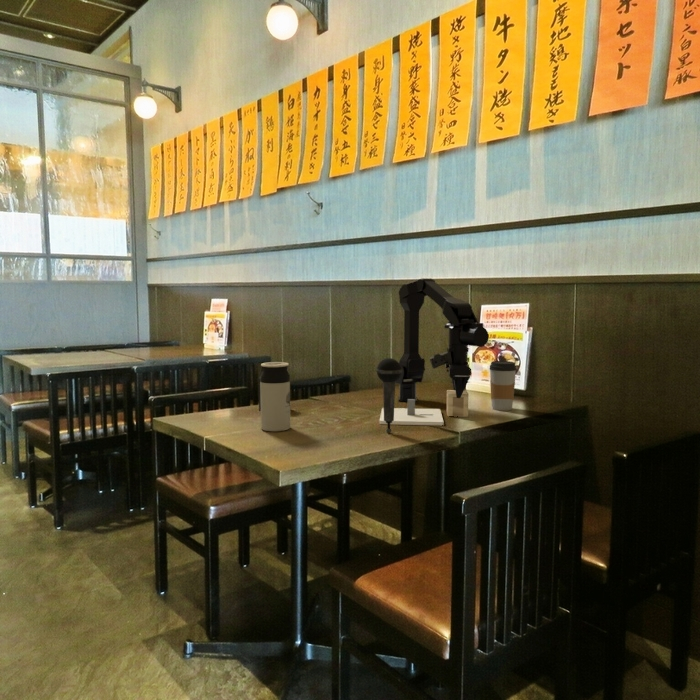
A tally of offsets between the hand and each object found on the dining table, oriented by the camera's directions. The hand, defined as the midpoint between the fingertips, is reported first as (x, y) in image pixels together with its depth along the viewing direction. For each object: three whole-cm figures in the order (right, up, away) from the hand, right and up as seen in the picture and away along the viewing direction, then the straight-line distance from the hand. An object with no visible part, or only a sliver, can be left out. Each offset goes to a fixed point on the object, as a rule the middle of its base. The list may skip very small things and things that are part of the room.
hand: (457, 395), depth 174 cm
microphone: (-22, -9, -22) cm, 33 cm away
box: (-57, -5, +9) cm, 58 cm away
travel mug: (-53, -8, -17) cm, 56 cm away
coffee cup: (+16, -5, +9) cm, 19 cm away
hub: (-15, -6, -4) cm, 16 cm away
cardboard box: (0, -6, 0) cm, 6 cm away
